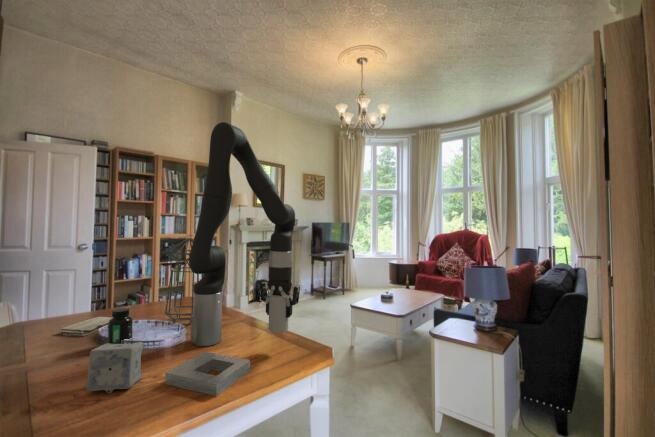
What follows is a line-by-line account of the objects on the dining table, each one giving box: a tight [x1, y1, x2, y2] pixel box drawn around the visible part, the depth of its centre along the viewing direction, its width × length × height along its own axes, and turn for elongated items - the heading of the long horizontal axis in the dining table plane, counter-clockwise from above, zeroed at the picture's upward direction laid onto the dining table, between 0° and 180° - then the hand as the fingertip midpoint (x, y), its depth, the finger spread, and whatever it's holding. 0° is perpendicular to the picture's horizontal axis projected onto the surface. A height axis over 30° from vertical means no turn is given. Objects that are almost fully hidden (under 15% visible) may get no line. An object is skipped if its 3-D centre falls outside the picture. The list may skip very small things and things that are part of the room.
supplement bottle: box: [107, 307, 134, 344], centre depth 106 cm, size 7×7×12 cm
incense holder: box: [85, 341, 144, 394], centre depth 80 cm, size 10×8×10 cm
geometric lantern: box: [163, 237, 204, 326], centre depth 132 cm, size 16×16×35 cm
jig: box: [165, 351, 251, 397], centre depth 85 cm, size 16×14×3 cm
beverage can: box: [268, 294, 290, 334], centre depth 103 cm, size 6×6×12 cm
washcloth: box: [58, 316, 113, 337], centre depth 122 cm, size 12×18×3 cm, turn 171°
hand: (278, 315), depth 103 cm, fingers closed on beverage can, 6 cm apart
